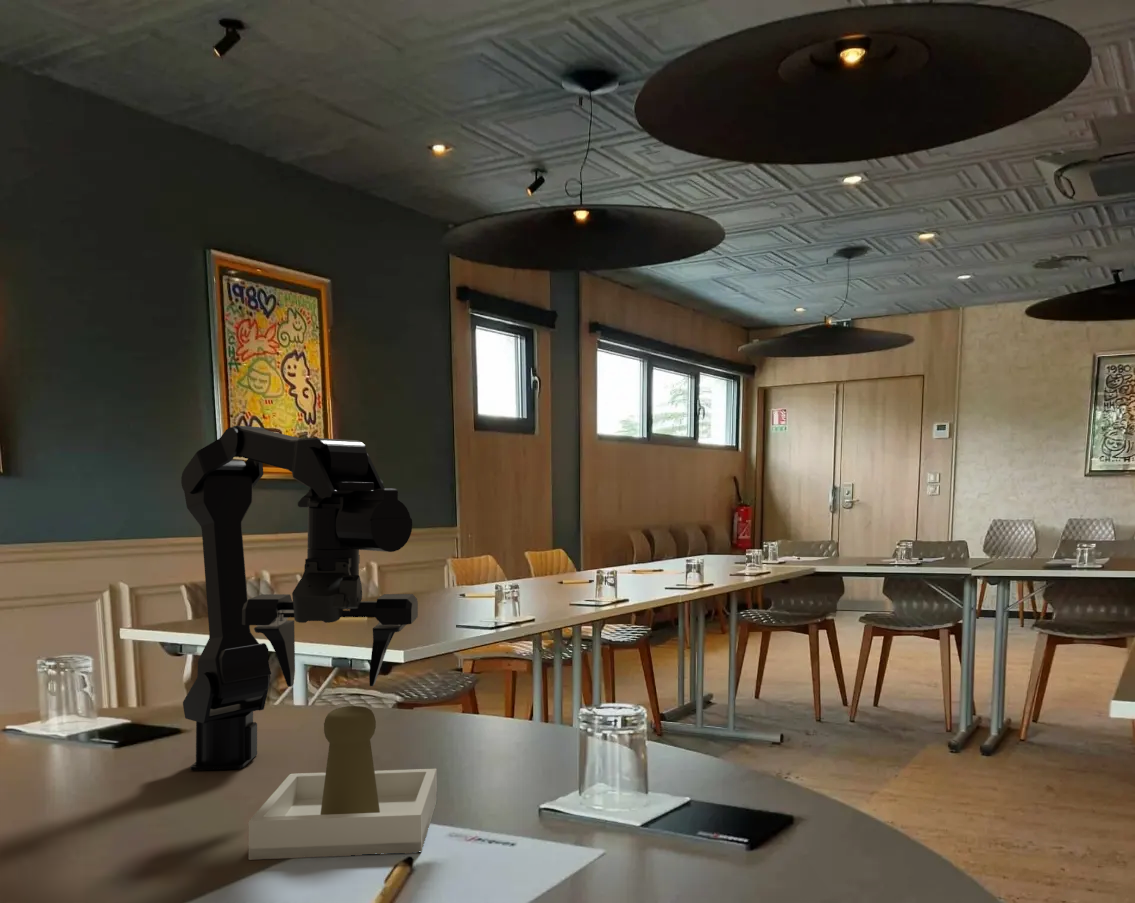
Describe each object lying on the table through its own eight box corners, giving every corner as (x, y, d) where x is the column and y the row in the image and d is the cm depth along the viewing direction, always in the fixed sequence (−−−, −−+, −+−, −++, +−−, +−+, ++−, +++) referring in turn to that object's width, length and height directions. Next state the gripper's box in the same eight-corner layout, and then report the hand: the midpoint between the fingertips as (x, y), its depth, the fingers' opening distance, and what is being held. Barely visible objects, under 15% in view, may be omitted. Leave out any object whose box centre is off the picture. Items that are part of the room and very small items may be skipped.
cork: (365, 830, 83) (365, 716, 83) (308, 827, 84) (308, 714, 84) (389, 808, 89) (389, 702, 89) (336, 805, 90) (336, 700, 90)
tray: (248, 859, 79) (248, 821, 79) (290, 806, 93) (290, 773, 93) (421, 852, 79) (420, 814, 80) (436, 800, 93) (436, 768, 94)
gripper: (224, 553, 88) (221, 704, 87) (404, 553, 89) (402, 703, 88) (259, 546, 99) (257, 680, 99) (419, 546, 100) (417, 679, 99)
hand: (331, 685), depth 96 cm, fingers open, 9 cm apart
